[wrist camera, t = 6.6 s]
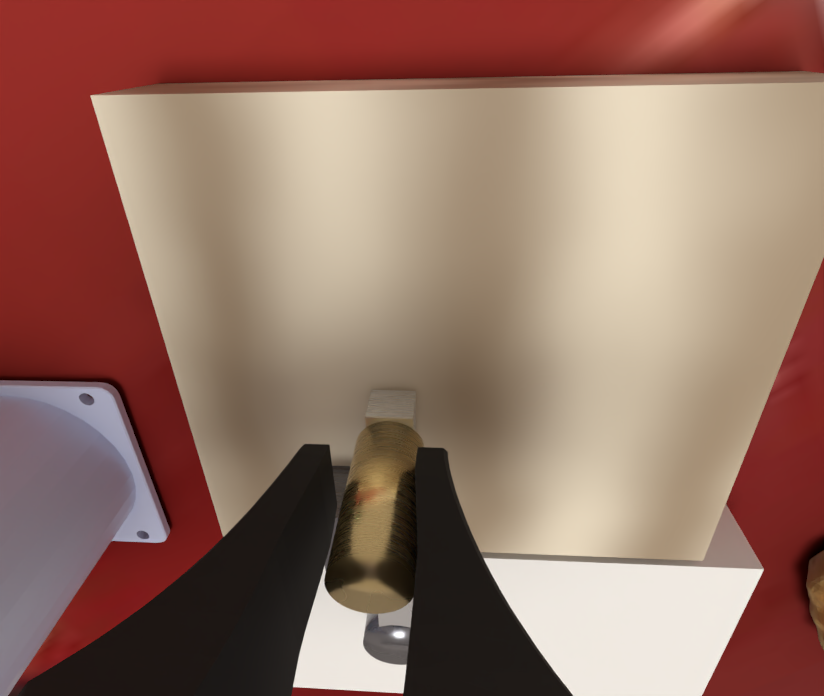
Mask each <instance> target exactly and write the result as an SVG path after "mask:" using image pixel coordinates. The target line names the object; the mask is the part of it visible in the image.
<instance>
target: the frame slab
mask: <svg viewBox="0 0 824 696" xmlns="http://www.w3.org/2000/svg"><path fill="white" fill-rule="evenodd" d="M481 554H482V556H483V558H484V560H485V562H486V564H487V566H488V568H489V570H490V572H491V574H492V576H493V578H494V579H495V581H496V583H497V585H498V587H499V589H500V590H501V592H502V594H503V595H504V597H505V599H506V600H507V602H508V604H509V606H510V607H511V609H512V610H513V612H514V613H515V615H516V617H517V618H518V620H519V621H520V623H521V624H522V626H523V627H524V629H525V630H526V632H527V633H528V635H529V636H530V638H531V639H532V641H533V642H534V644H535V645H536V647H537V648H538V650H539V651H540V652H541V654H542V655H543V656H544V658H545V659H546V661H547V662H548V663H549V665H550V666H551V667H552V669H553V670H554V671H555V673H556V674H557V675H558V677H559V678H560V679H561V681H562V682H563V683H564V684H565V686H566V687H567V688H568V690H569V691H570V692H571V693H572V695H573V696H702V694H703V692H704V690H705V688H706V686H707V684H708V682H709V680H710V678H711V676H712V674H713V672H714V670H715V668H716V666H717V664H718V662H719V660H720V658H721V656H722V654H723V652H724V649H725V647H726V645H727V643H728V641H729V639H730V637H731V635H732V633H733V631H734V629H735V627H736V625H737V623H738V621H739V619H740V617H741V615H742V613H743V611H744V609H745V607H746V605H747V603H748V601H749V599H750V597H751V595H752V593H753V591H754V589H755V587H756V585H757V583H758V581H759V579H760V576H761V574H762V572H763V570H764V569H763V567H762V565H761V563H760V562H759V560H758V558H757V556H756V555H755V553H754V551H753V550H752V548H751V546H750V544H749V543H748V541H747V539H746V538H745V536H744V534H743V532H742V531H741V529H740V527H739V526H738V524H737V522H736V520H735V519H734V517H733V515H732V514H731V512H730V510H729V508H728V507H727V505H726V504H725V507H724V509H723V512H722V514H721V517H720V519H719V522H718V524H717V527H716V529H715V532H714V534H713V537H712V540H711V542H710V545H709V547H708V550H707V552H706V555H705V557H704V560H703V561H694V560H669V559H643V558H618V557H593V556H567V555H542V554H517V553H491V552H481ZM325 573H326V570H325V566H324V569H323V573H322V576H321V580H320V583H319V586H318V590H317V593H316V597H315V600H314V603H313V607H312V610H311V613H310V617H309V620H308V624H307V627H306V630H305V634H304V638H303V642H302V646H301V650H300V654H299V658H298V663H297V669H296V674H295V679H294V684H293V687H304V688H321V689H339V690H356V691H373V692H391V693H403V692H404V683H405V674H406V665H396V664H389V663H385V662H382V661H380V660H377V659H375V658H374V657H372V656H371V655H370V654H368V652H367V651H366V650H365V648H364V646H363V638H364V632H365V625H366V618H367V613H362V612H358V611H354V610H351V609H349V608H347V607H344V606H343V605H341V604H339V603H338V602H336V601H335V600H334V599H333V598H332V597H331V596H330V595H329V593H328V592H327V590H326V588H325V584H324V578H325Z"/></svg>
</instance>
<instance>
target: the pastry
mask: <svg viewBox="0 0 824 696" xmlns="http://www.w3.org/2000/svg"><path fill="white" fill-rule="evenodd" d="M806 587H807V590H808V596H809V598H810V605H809V608H810V614H811V616H812V618H813V621H814V623H815V624H816V627H817V632H818V638H819V641H820V644H821V646H822V648H823V650H824V550H823V551H822V552H820V553H819V554H817V555H816V556H814V557H813V558H811V559H810V560H809V566H808V575H807V581H806Z"/></svg>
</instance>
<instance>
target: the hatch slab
mask: <svg viewBox="0 0 824 696" xmlns="http://www.w3.org/2000/svg"><path fill="white" fill-rule="evenodd" d="M90 96H91V99H92V103H93V106H94V109H95V113H96V116H97V119H98V122H99V126H100V129H101V132H102V136H103V139H104V142H105V146H106V149H107V152H108V156H109V159H110V162H111V166H112V169H113V172H114V176H115V179H116V182H117V186H118V189H119V192H120V196H121V199H122V202H123V206H124V209H125V212H126V216H127V219H128V222H129V225H130V229H131V232H132V235H133V239H134V242H135V245H136V249H137V252H138V255H139V259H140V262H141V265H142V269H143V272H144V275H145V279H146V282H147V285H148V289H149V292H150V295H151V299H152V302H153V305H154V309H155V312H156V315H157V319H158V322H159V325H160V329H161V332H162V335H163V338H164V342H165V345H166V348H167V352H168V355H169V358H170V362H171V365H172V368H173V372H174V375H175V378H176V382H177V385H178V388H179V392H180V395H181V398H182V402H183V405H184V408H185V412H186V415H187V418H188V422H189V425H190V428H191V432H192V435H193V438H194V441H195V445H196V448H197V451H198V455H199V458H200V461H201V465H202V468H203V471H204V475H205V478H206V481H207V485H208V488H209V491H210V495H211V498H212V501H213V505H214V508H215V511H216V515H217V518H218V521H219V525H220V528H221V531H222V535H223V537H224V536H225V535H226V534H227V533H228V532H229V531H230V530H231V529H232V528H233V527H234V526H235V525H236V524H237V523H238V521H239V520H240V519H241V518H242V517H243V516H244V515H245V514H246V513H247V512H248V511H249V510H250V509H251V508H252V506H253V505H254V504H255V503H256V502H257V501H258V499H259V498H260V497H261V496H262V495H263V494H264V492H265V491H266V490H267V489H268V488H269V487H270V486H271V484H272V483H273V482H274V481H275V479H276V478H277V477H278V476H279V474H280V473H281V472H282V471H283V470H284V468H285V467H286V466H287V464H288V463H289V462H290V461H291V459H292V458H293V457H294V455H295V454H296V453H297V452H298V450H299V449H300V448H301V447H302V446H303V445H304V444H328V445H330V453H331V460H332V466H351V462H352V458H353V453H354V449H355V445H356V440H357V438H358V436H359V434H360V433H361V431H362V430H363V429H365V428H366V420H365V416H366V412H367V407H368V403H369V398H370V394H371V390H400V391H416V432H417V433H418V434H419V435H420V437H421V438H422V440H423V443H424V447H431V448H444V449H445V450H446V451H447V452H448V460H449V467H450V471H451V476H452V479H453V483H454V486H455V490H456V493H457V496H458V499H459V502H460V505H461V507H462V510H463V513H464V515H465V518H466V521H467V523H468V525H469V528H470V530H471V533H472V535H473V537H474V539H475V541H476V544H477V546H478V548H479V550H480V552H491V553H517V554H542V555H567V556H593V557H618V558H643V559H669V560H694V561H703V560H704V557H705V555H706V552H707V550H708V547H709V545H710V542H711V540H712V537H713V534H714V532H715V529H716V527H717V524H718V522H719V519H720V517H721V514H722V512H723V509H724V507H725V504H726V502H727V499H728V497H729V494H730V492H731V489H732V487H733V484H734V482H735V479H736V477H737V474H738V471H739V469H740V466H741V464H742V461H743V459H744V456H745V454H746V451H747V449H748V446H749V444H750V441H751V439H752V436H753V434H754V431H755V429H756V426H757V424H758V421H759V419H760V416H761V414H762V411H763V409H764V406H765V403H766V401H767V398H768V396H769V393H770V391H771V388H772V386H773V383H774V381H775V378H776V376H777V373H778V371H779V368H780V366H781V363H782V361H783V358H784V356H785V353H786V351H787V348H788V346H789V343H790V340H791V338H792V335H793V333H794V330H795V328H796V325H797V323H798V320H799V318H800V315H801V313H802V310H803V308H804V305H805V303H806V300H807V298H808V295H809V293H810V290H811V288H812V285H813V283H814V280H815V277H816V275H817V272H818V270H819V267H820V265H821V262H822V260H823V257H824V73H816V72H807V71H788V72H736V73H684V74H632V75H581V76H529V77H477V78H425V79H374V80H322V81H270V82H218V83H166V84H153V85H148V86H142V87H136V88H130V89H125V90H119V91H113V92H107V93H102V94H96V95H90Z"/></svg>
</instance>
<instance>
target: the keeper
mask: <svg viewBox="0 0 824 696" xmlns="http://www.w3.org/2000/svg"><path fill="white" fill-rule="evenodd" d="M332 468H333V476H334V483H335V491H336V498H337V510H336V516H335V522H334V528H333V534H332V539H331V545H330V548H329V552H328V555H327V559H326V562H325V570H326V569H327V565H328V561H329V556H330V552H331V548H332V543H333V539H334V535H335V531H336V526H337V522H338V518H339V513H340V509H341V505H342V500H343V496H344V492H345V488H346V483H347V479H348V475H349V470H350V466H332Z"/></svg>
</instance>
